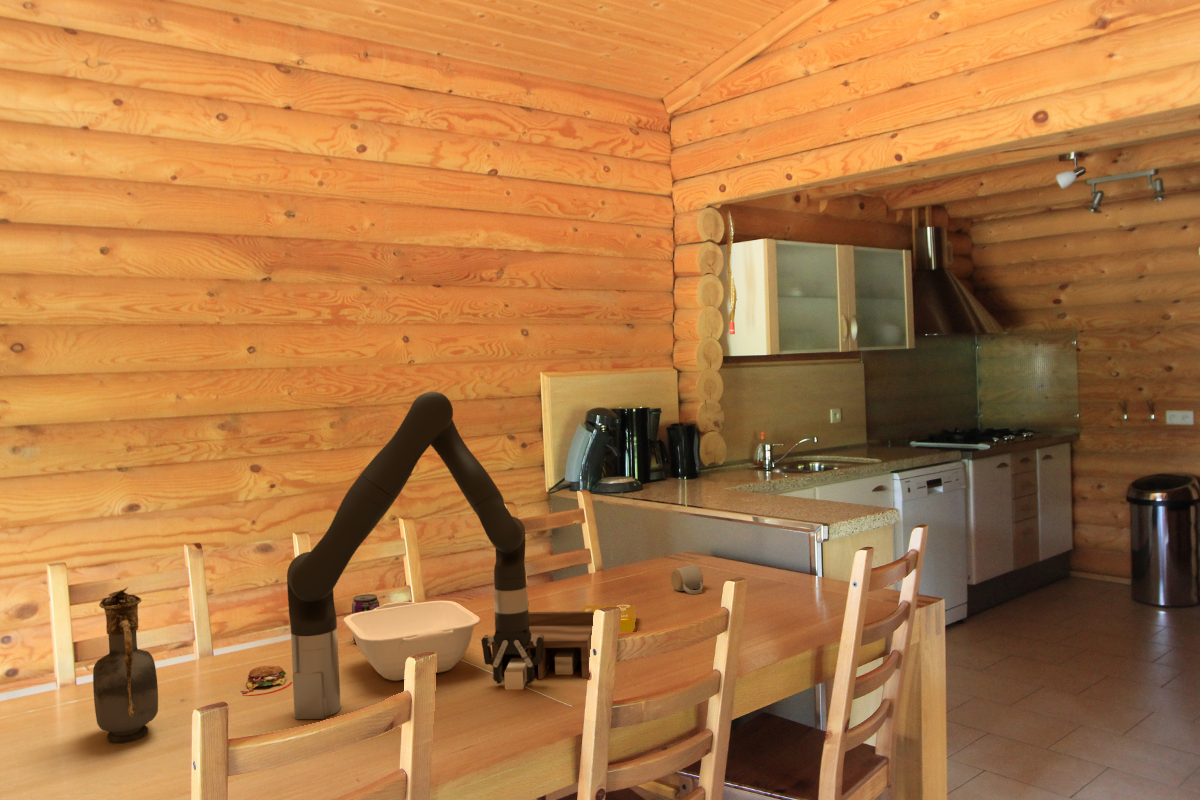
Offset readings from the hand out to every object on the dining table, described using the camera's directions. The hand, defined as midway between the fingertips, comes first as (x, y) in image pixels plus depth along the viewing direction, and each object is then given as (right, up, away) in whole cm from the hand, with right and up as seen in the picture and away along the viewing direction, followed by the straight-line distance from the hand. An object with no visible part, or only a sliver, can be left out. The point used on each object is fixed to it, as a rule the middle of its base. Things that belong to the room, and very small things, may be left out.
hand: (514, 682), depth 199 cm
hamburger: (-59, -4, +8) cm, 60 cm away
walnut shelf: (+6, 0, +11) cm, 13 cm away
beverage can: (-43, -2, +40) cm, 59 cm away
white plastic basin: (-26, -2, +15) cm, 30 cm away
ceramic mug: (+47, +3, +81) cm, 94 cm away
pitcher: (-74, -5, -21) cm, 78 cm away
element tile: (+21, 0, +45) cm, 50 cm away
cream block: (0, -1, +3) cm, 3 cm away
